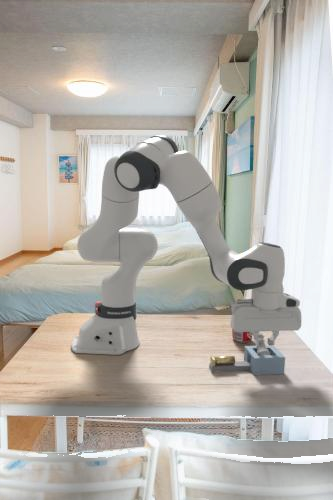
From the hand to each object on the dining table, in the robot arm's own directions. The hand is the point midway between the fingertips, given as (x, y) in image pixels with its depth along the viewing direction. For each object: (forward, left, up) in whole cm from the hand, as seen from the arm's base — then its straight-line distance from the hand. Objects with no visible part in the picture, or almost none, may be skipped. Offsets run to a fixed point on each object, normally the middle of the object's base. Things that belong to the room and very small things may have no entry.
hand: (264, 344), depth 116 cm
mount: (-6, 0, -7) cm, 9 cm away
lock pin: (-12, 0, -6) cm, 13 cm away
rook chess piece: (0, -1, -4) cm, 4 cm away
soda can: (+1, +22, -7) cm, 24 cm away
